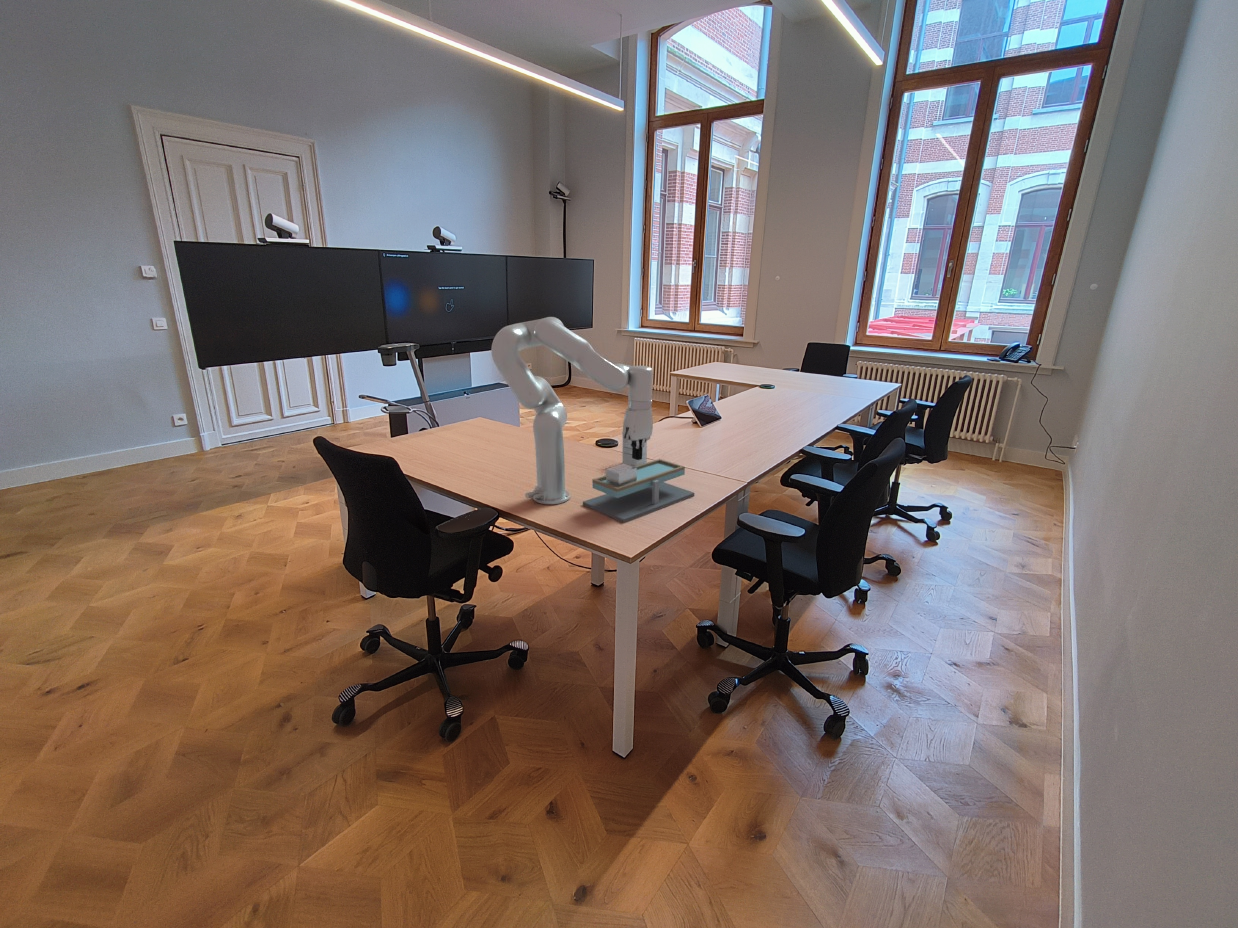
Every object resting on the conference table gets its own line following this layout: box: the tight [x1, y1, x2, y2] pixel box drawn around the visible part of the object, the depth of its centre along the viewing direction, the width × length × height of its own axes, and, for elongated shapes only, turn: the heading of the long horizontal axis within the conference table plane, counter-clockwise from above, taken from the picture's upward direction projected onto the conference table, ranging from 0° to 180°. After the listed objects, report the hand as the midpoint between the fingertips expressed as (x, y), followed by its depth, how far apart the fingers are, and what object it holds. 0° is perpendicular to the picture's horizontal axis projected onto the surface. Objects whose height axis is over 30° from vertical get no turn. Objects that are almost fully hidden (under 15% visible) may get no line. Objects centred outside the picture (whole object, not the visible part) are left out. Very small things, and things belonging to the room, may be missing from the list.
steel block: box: [605, 463, 637, 487], centre depth 181 cm, size 8×6×5 cm
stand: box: [582, 480, 695, 524], centre depth 190 cm, size 34×20×9 cm, turn 133°
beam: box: [592, 458, 686, 498], centre depth 189 cm, size 32×12×3 cm, turn 133°
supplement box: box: [622, 437, 648, 467], centre depth 228 cm, size 7×7×13 cm
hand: (636, 458), depth 187 cm, fingers closed
